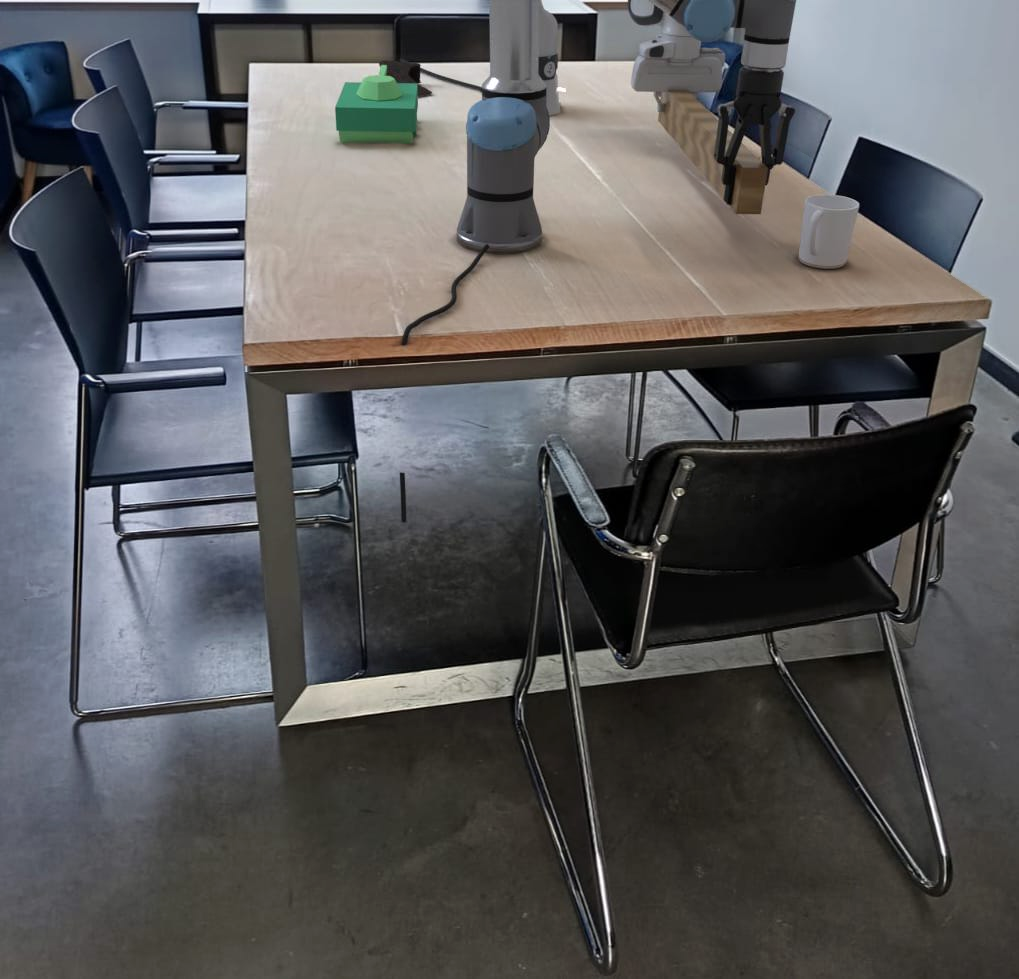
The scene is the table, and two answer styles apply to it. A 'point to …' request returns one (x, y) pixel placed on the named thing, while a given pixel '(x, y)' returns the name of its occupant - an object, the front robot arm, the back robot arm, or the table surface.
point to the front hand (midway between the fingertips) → (741, 202)
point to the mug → (827, 230)
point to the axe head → (405, 74)
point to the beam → (712, 150)
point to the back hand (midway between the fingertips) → (673, 112)
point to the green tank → (377, 110)
